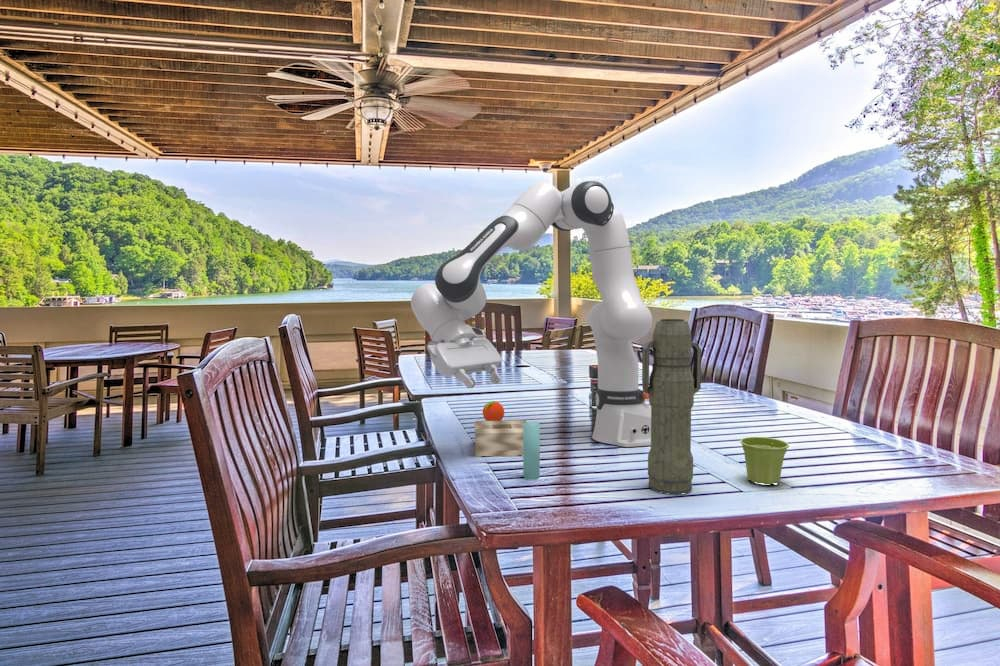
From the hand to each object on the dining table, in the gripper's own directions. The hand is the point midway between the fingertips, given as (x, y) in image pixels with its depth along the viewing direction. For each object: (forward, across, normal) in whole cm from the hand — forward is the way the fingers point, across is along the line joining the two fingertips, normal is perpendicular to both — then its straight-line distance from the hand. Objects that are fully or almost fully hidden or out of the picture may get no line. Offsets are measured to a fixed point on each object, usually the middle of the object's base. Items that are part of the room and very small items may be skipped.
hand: (485, 384), depth 131 cm
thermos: (+42, +11, -15) cm, 46 cm away
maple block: (+9, +16, +18) cm, 26 cm away
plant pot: (+52, +26, -25) cm, 64 cm away
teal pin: (+23, 0, +5) cm, 23 cm away
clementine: (-5, +39, +33) cm, 51 cm away
